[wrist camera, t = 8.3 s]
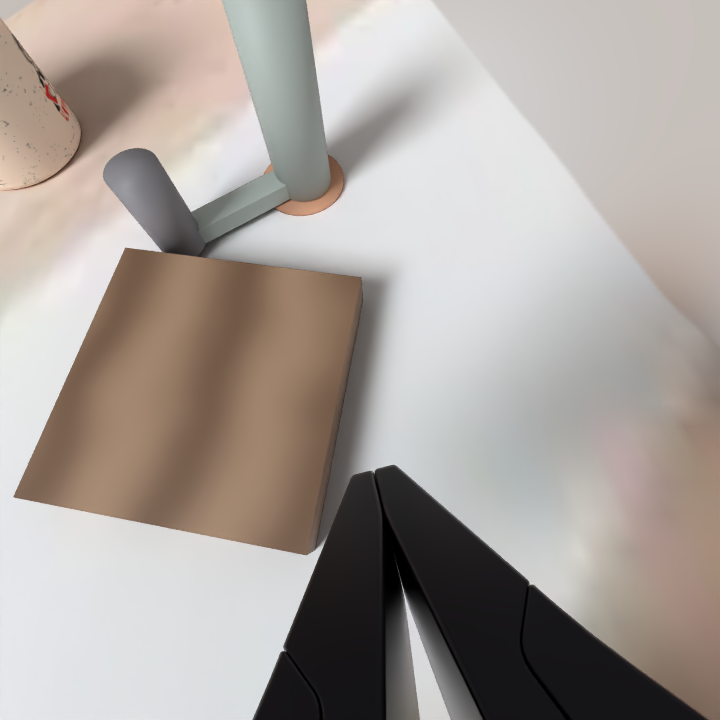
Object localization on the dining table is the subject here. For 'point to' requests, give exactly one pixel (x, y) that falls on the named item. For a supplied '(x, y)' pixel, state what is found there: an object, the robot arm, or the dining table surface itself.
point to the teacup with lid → (31, 120)
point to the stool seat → (206, 397)
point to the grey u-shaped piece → (278, 124)
